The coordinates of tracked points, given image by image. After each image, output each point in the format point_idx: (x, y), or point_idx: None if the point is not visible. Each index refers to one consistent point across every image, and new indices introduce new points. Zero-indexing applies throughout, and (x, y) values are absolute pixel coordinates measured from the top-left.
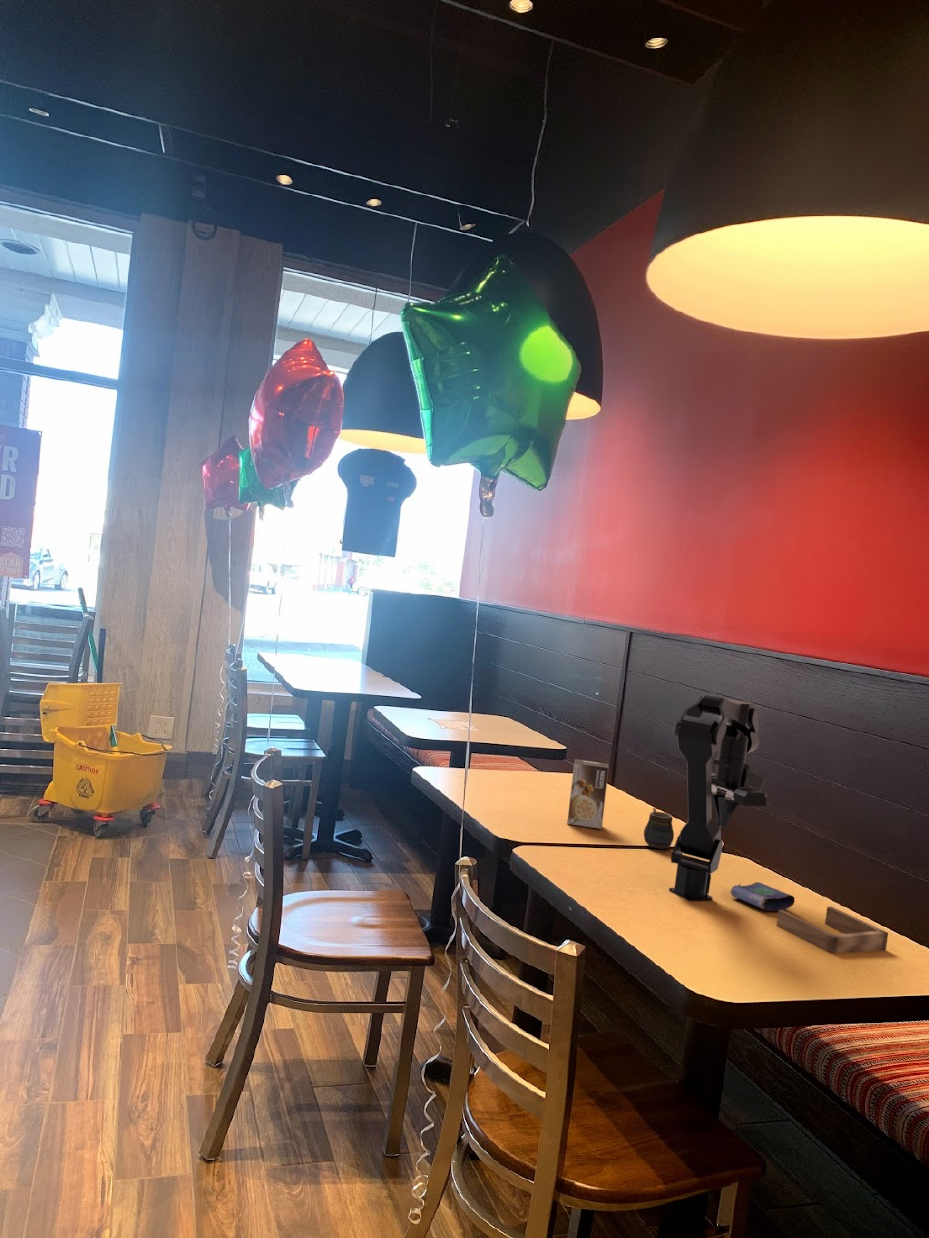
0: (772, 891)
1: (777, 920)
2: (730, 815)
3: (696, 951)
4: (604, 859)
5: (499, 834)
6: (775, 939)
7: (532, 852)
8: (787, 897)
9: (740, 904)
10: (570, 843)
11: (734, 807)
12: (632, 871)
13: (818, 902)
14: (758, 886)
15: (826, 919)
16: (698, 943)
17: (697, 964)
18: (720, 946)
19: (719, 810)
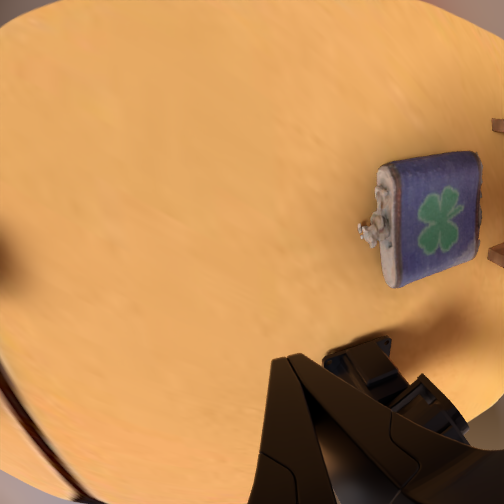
0: (451, 192)
1: (497, 264)
2: (376, 412)
3: (470, 395)
4: (111, 441)
5: (56, 496)
6: (500, 286)
7: (124, 499)
8: (457, 152)
9: None
10: (36, 447)
11: (449, 458)
12: (181, 425)
13: (397, 10)
14: (415, 204)
15: (501, 131)
16: (463, 390)
17: (481, 397)
18: (478, 369)
19: (345, 500)
